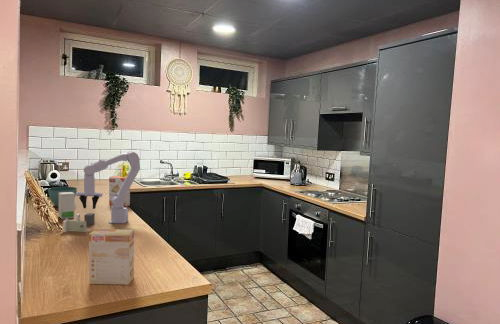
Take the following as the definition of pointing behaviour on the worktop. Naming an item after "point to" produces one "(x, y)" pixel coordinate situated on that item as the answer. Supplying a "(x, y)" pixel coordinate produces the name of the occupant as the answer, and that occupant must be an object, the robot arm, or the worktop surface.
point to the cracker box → (117, 189)
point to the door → (77, 225)
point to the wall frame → (65, 223)
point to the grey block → (89, 218)
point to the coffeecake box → (111, 256)
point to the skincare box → (66, 205)
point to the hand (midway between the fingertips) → (89, 208)
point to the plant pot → (54, 192)
